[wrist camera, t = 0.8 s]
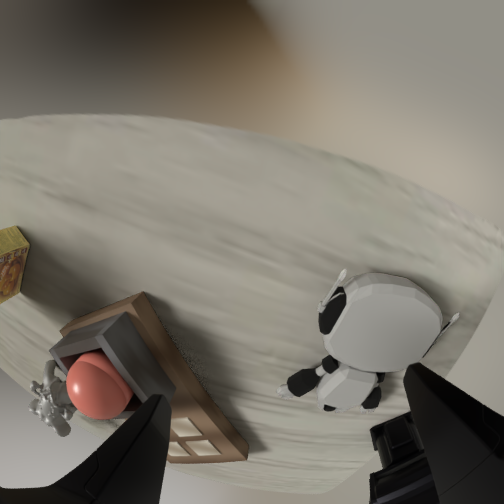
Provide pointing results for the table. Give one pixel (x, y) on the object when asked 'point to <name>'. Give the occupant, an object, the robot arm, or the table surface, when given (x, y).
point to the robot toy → (367, 339)
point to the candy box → (11, 261)
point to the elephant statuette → (53, 401)
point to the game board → (154, 377)
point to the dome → (97, 386)
